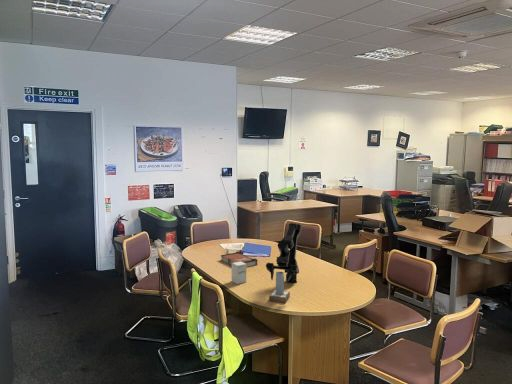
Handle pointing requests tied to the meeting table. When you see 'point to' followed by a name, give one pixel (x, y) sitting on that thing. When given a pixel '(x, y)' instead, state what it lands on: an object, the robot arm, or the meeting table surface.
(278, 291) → the slate pillar
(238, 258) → the book
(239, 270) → the supplement box
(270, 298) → the foundation block
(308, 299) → the meeting table surface
